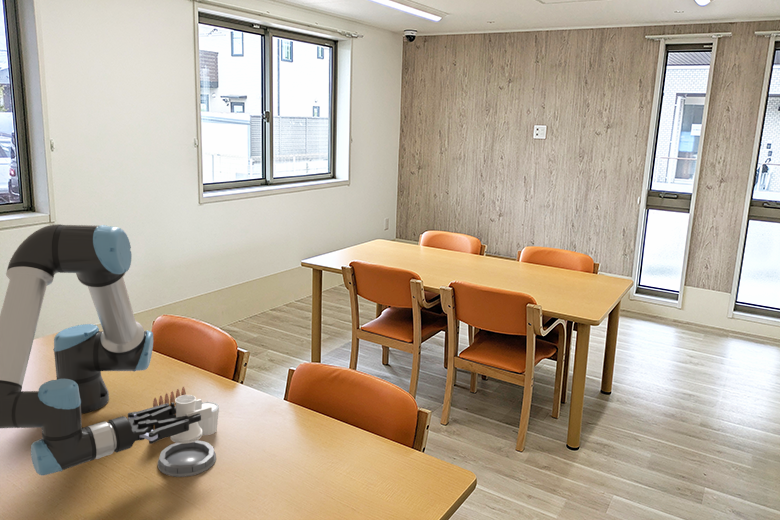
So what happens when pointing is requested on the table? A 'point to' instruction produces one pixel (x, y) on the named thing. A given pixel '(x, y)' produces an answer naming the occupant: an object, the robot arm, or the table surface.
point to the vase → (195, 432)
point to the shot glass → (209, 419)
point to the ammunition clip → (172, 399)
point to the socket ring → (186, 459)
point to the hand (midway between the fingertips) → (205, 407)
